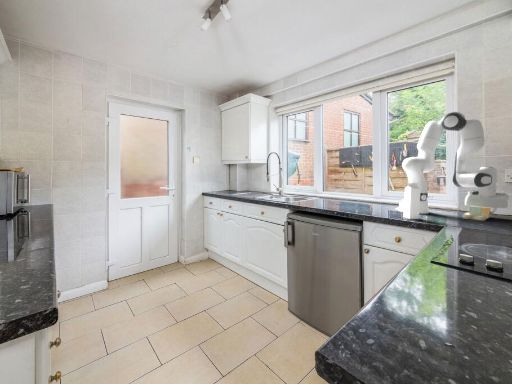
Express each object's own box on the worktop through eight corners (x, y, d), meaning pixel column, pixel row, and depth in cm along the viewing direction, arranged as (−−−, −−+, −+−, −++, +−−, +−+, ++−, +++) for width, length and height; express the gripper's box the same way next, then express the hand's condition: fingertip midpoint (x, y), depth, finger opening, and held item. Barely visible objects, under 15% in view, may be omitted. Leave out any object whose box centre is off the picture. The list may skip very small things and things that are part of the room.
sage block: (469, 214, 154) (469, 206, 153) (471, 213, 157) (471, 205, 156) (480, 215, 150) (480, 207, 149) (481, 214, 153) (482, 206, 153)
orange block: (479, 217, 158) (479, 207, 158) (480, 216, 161) (481, 207, 161) (488, 218, 155) (489, 208, 154) (489, 217, 158) (490, 207, 157)
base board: (462, 218, 154) (462, 214, 154) (466, 216, 161) (466, 212, 160) (484, 220, 147) (484, 216, 146) (487, 218, 153) (487, 214, 153)
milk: (403, 217, 157) (404, 182, 155) (412, 217, 158) (413, 182, 156) (409, 219, 151) (411, 183, 149) (419, 219, 152) (420, 183, 150)
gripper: (506, 192, 154) (505, 214, 155) (464, 191, 164) (463, 212, 166) (510, 193, 149) (508, 216, 150) (466, 192, 159) (465, 213, 160)
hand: (484, 214), depth 158 cm, fingers closed on orange block, 5 cm apart
